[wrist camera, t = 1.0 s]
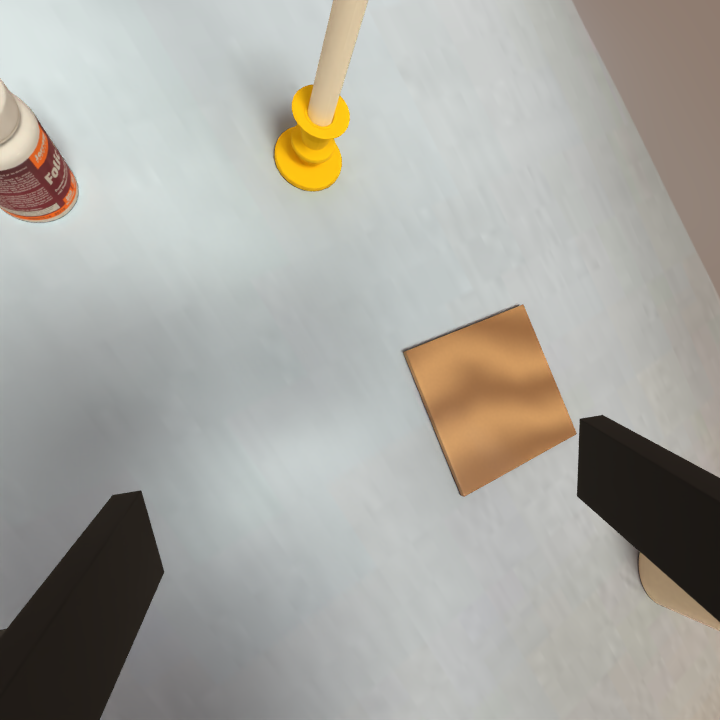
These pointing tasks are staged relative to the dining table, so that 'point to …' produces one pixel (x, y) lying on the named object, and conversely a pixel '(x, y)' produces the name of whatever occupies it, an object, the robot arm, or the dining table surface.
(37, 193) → the pill bottle
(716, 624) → the jar
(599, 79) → the dining table surface
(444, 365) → the coaster
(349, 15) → the candle
